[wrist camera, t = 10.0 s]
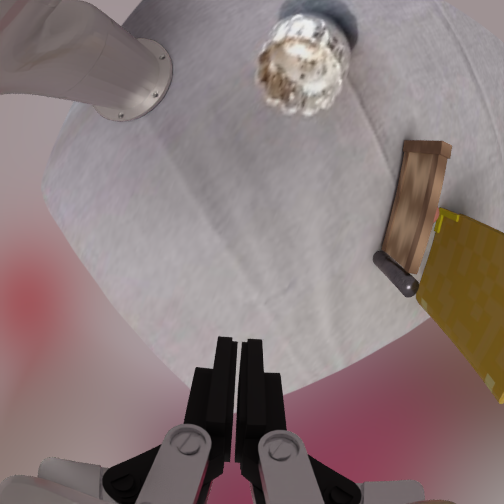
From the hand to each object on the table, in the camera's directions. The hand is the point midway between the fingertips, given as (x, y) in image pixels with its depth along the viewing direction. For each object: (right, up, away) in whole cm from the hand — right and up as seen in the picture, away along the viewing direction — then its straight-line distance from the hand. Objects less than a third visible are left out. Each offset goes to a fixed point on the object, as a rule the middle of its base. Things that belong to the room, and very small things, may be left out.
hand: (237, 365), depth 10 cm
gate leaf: (+21, +12, +25) cm, 35 cm away
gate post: (+20, +4, +28) cm, 34 cm away
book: (+32, +3, +28) cm, 43 cm away
